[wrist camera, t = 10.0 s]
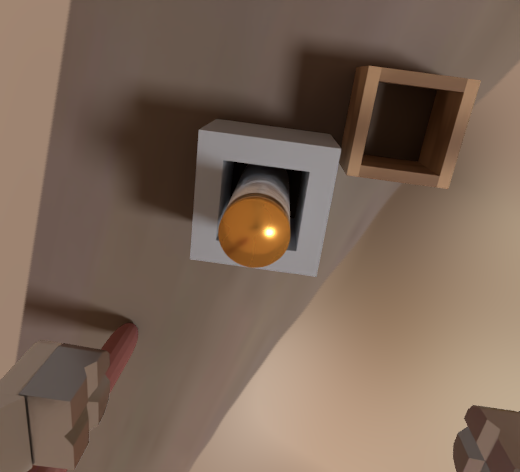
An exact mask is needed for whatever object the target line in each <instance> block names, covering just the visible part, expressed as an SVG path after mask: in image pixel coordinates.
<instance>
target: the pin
mask: <svg viewBox="0 0 520 472" xmlns="http://www.w3.org/2000/svg"><path fill="white" fill-rule="evenodd" d="M218 237H219V242H220V245H221V247H222V249H223V251H224V252H225V254H226V255H227V256H228V257H229V258H230V259H232V260H233V261H234V262H236V263H238V264H240V265H243V266H246V267H252V268H259V267H265V266H268V265H270V264H272V263H274V262H276V261H277V260H278V259H280V258H281V257H282V256H283V254H284V253H285V252H286V250H287V248H288V245H289V242H290V197H289V177H288V173H287V171H286V170H285V168H278V167H270V166H263V165H255V164H248V165H247V167H246V168H245V169H244V171H243V173H242V175H241V177H240V179H239V182H238V184H237V186H236V188H235V190H234V193H233V195H232V197H231V199H230V201H229V203H228V206H227V208H226V210H225V212H224V214H223V217H222V219H221V221H220V224H219V228H218Z"/></svg>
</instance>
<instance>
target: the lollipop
mask: <svg viewBox="0 0 520 472" xmlns="http://www.w3.org/2000/svg"><path fill="white" fill-rule="evenodd" d="M137 339H138V329H137V327H136V325H134V324H133V323H125V324H124V325H122V326H120V327H119V328H118V329H117V330H116V331H115V332H114V333H113V334H112V335H111V336H110V338H109V339H108V340H107V342H106V343H105V344H104V346H103V347H102V349H101V350H106V351H107V352H108V353H109V356H110V366H109V368H108V370H107V371H106V373H105V375H106V376H107V378H108V379H109V380H110V392H111V390H112V389H113V387H114V385H115V383H116V381H117V380H118V378H119V376H120V374H121V372H122V371H123V369H124V367H125V365H126V364H127V362H128V360H129V358H130V356H131V354H132V352H133V350H134V348H135V346H136V343H137ZM66 471H67V469H61V468H53V467H45V466H36V465H32V468H31V469H30V470H29V471H27V472H66Z"/></svg>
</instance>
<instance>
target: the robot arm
mask: <svg viewBox="0 0 520 472" xmlns="http://www.w3.org/2000/svg"><path fill="white" fill-rule="evenodd" d="M109 366H110V356H109V353H108V352H107V351H106V350H100V349H94V348H89V347H83V346H77V345H71V344H65V343H63V344H62V343H57V342H51V341H46V340H40V341H38V342H36V343H34V344H33V346H32V347H31V348H30V349H29V350H28V351H27V352H26V353H25V354H24V355H23V356H22V357H21V358H20V360H19V361H18V362H17V363H16V364H15V365H14V366H13V367H12V368H11V369H10V370H9V372H8V373H7V374H6V375H5V376H4V377H3V378H2V379H1V380H0V472H27V471H29V470H30V469H31V468H32V465H36V466H45V467H53V468H61V469H70V470H75V468H76V466H77V465H78V463H79V461H80V459H81V457H82V455H83V453H84V452H85V450H86V448H87V446H88V444H89V431H90V430H91V429H93V428H95V427H96V426H98V425H99V423H100V421H101V419H102V417H103V415H104V413H105V410H106V407H107V404H108V401H109V394H110V380H109V379H108V378H107V376H106V375H105V373H106V371H107V370H108V368H109ZM464 419H465V421H466V423H467V426H468V427H466V428H465V429H463V430H462V431H460V432H459V433H458V434H457V437H456V439H455V442H454V448H453V459H454V463H455V468H456V471H457V472H520V411H519V412H516V411H511V410H504V409H497V408H490V407H483V406H475V405H473V406H472V407H471V408H470V409H468V411H467V413H466V415H465V418H464Z"/></svg>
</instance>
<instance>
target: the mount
mask: <svg viewBox="0 0 520 472" xmlns="http://www.w3.org/2000/svg"><path fill="white" fill-rule="evenodd" d="M379 82H382V83H390V84H397V85H405V86H412V87H420V88H427V89H435V90H437V92H436V96H435V100H434V104H433V107H432V111H431V115H430V119H429V122H428V126H427V130H426V134H425V137H424V141H423V145H422V149H421V152H420V156H419V160H418V162H417V161H409V160H402V159H394V158H387V157H380V156H372V155H365V154H363V152H364V148H365V143H366V139H367V134H368V129H369V125H370V120H371V115H372V111H373V106H374V101H375V97H376V92H377V88H378V83H379ZM480 82H481V80H473V79H466V78H458V77H451V76H443V75H436V74H428V73H421V72H413V71H406V70H398V69H391V68H383V67H376V66H362V67H356V72H355V78H354V83H353V88H352V93H351V98H350V103H349V108H348V113H347V119H346V124H345V129H344V134H343V139H342V144H341V154H340V159H339V163H340V165H341V167H342V168H343V170H344V172H345V173H346V175H349V176H356V177H364V178H371V179H378V180H386V181H393V182H401V183H408V184H415V185H423V186H431V187H437V188H445V189H448V187H449V185H450V181H451V178H452V175H453V171H454V168H455V165H456V161H457V158H458V155H459V152H460V148H461V145H462V141H463V138H464V135H465V131H466V128H467V125H468V122H469V118H470V115H471V112H472V109H473V105H474V102H475V99H476V95H477V92H478V89H479V85H480Z"/></svg>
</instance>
